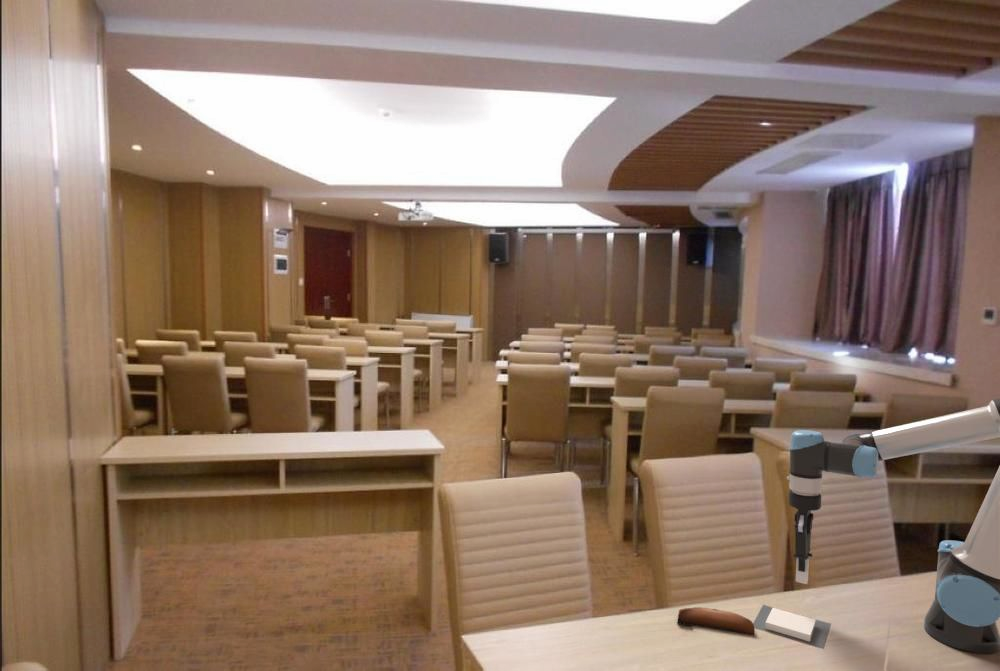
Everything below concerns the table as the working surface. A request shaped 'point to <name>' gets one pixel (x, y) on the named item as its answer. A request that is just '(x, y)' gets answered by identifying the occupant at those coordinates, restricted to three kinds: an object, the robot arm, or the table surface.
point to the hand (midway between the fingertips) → (801, 581)
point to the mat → (816, 640)
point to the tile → (790, 624)
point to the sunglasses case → (715, 619)
